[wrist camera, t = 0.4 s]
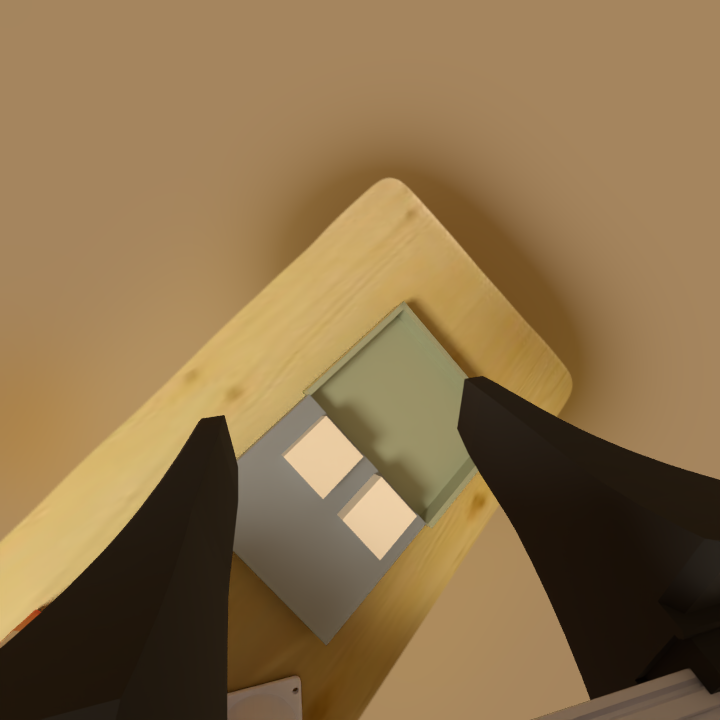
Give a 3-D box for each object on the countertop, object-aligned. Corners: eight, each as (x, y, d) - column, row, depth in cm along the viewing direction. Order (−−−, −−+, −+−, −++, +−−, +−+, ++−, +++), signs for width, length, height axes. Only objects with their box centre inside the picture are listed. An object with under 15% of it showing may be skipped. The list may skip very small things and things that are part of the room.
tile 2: (372, 552, 36) (380, 560, 34) (336, 514, 35) (342, 519, 33) (407, 511, 37) (416, 516, 36) (374, 473, 37) (381, 476, 35)
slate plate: (321, 633, 35) (326, 645, 34) (191, 500, 34) (188, 505, 32) (417, 518, 40) (426, 523, 38) (305, 395, 38) (309, 394, 36)
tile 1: (318, 494, 35) (323, 499, 33) (281, 454, 35) (283, 456, 33) (356, 454, 37) (363, 456, 35) (321, 415, 36) (326, 415, 34)
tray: (420, 521, 40) (431, 528, 37) (302, 391, 38) (306, 390, 36) (497, 428, 44) (511, 429, 42) (394, 307, 42) (404, 301, 40)
